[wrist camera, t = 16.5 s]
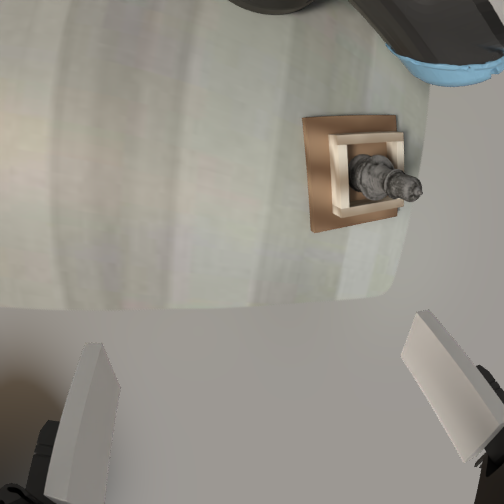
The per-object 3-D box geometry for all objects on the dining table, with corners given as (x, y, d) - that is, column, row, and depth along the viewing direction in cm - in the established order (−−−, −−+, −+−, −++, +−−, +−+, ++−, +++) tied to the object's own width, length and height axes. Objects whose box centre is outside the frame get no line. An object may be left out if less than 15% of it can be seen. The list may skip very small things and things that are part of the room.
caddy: (302, 117, 37) (314, 117, 34) (390, 115, 40) (406, 116, 36) (310, 230, 43) (322, 239, 40) (392, 213, 46) (407, 220, 42)
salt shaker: (336, 174, 40) (393, 195, 29) (363, 142, 39) (425, 154, 28) (361, 203, 42) (418, 230, 31) (386, 172, 41) (447, 192, 31)
